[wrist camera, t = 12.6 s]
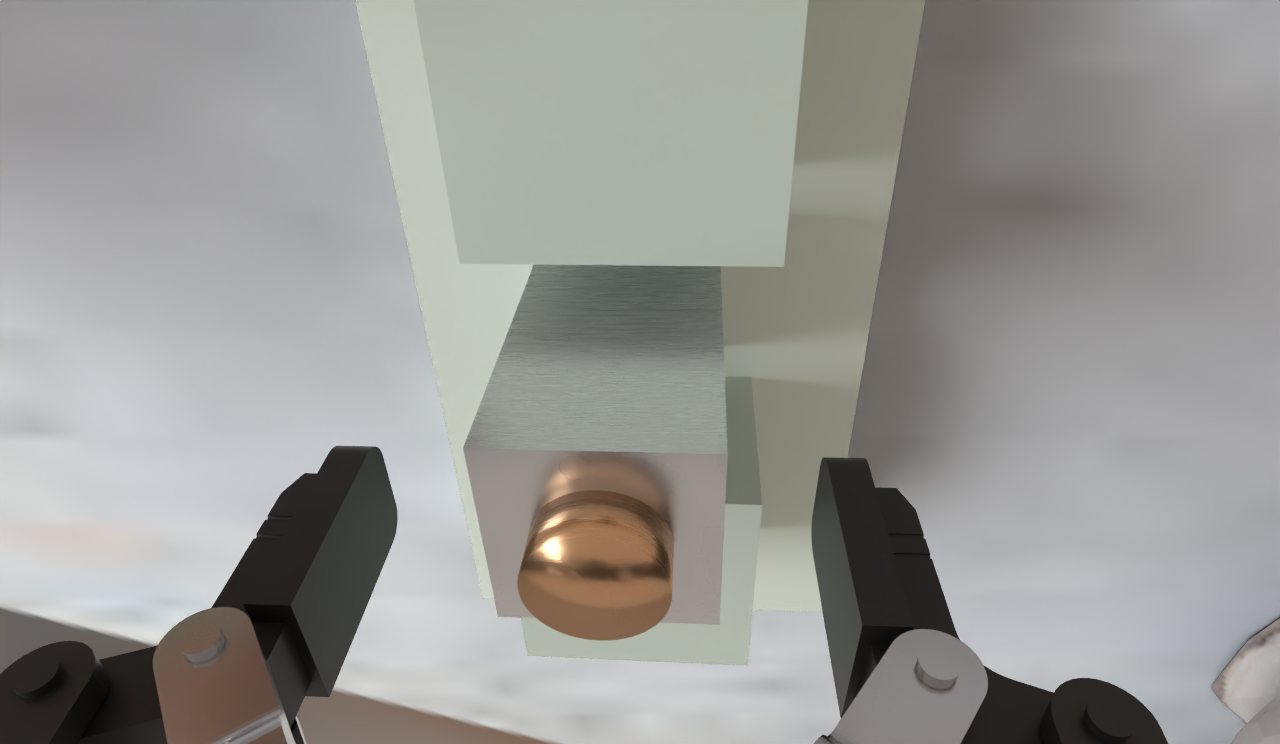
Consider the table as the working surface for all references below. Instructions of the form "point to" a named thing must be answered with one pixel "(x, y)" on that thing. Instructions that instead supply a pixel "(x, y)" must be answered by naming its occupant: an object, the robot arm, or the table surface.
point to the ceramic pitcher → (1254, 687)
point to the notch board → (754, 299)
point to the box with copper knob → (606, 451)
